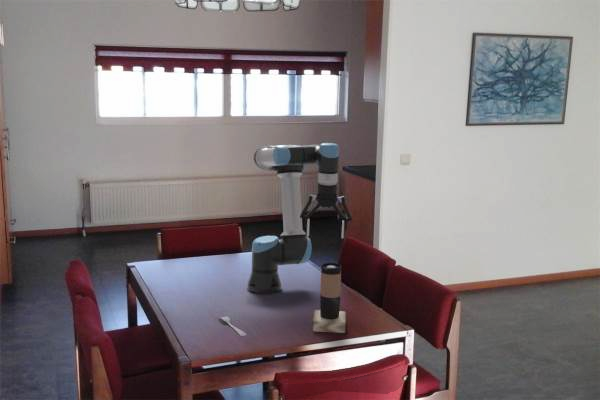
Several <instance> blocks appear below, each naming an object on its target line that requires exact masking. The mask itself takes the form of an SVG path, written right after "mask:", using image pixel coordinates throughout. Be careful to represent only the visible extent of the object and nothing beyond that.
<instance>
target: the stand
mask: <svg viewBox="0 0 600 400" xmlns="http://www.w3.org/2000/svg"><path fill="white" fill-rule="evenodd" d="M346 321H347V320H346V311H344V310H343V311H342V310H339V317H338V318H336V319H324V318H322V317H321V316H320V309H314V313H313V321H312V322H313V323H312V324H313V326H312V332H320V333H321V332H323V333H338V334H339V333H340V334H341V333H342V334H346Z"/></svg>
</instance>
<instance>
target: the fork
mask: <svg viewBox="0 0 600 400" xmlns="http://www.w3.org/2000/svg"><path fill="white" fill-rule="evenodd" d="M217 319H219V317H217ZM220 319H222V321H224V322H225V323H227V325H229V326H230V327H231V328H232V330H234V331H235V332H236V333H237V334H238V335H239V336H241V337H242V336H246V335H247V333H246V332H244V331H243V330H241V329H239V328H238V327H236V326H234V325H232V324H231V322H230V321H231V318H230V317H229V316H222V317H220Z"/></svg>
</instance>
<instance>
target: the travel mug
mask: <svg viewBox="0 0 600 400" xmlns="http://www.w3.org/2000/svg"><path fill="white" fill-rule="evenodd" d="M320 272H321V273H320V274H321V275H320V290H319V293H320V294H319V296H320V297H319V300H320V301H319V303H320V304H319V307H320V308H319V310H320V316H321V317H322V318H324V319H336V318H338V317H339V311H340V310H341V309H340V308H341V293H342V292H341V291H342V289H341V286H342V285H341V284H342V265H341V264H339V263H335V262H326V263H322V264H321V271H320Z"/></svg>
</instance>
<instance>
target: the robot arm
mask: <svg viewBox="0 0 600 400" xmlns="http://www.w3.org/2000/svg"><path fill="white" fill-rule="evenodd" d="M339 148H340V146H339V144H337V143H332V142H323V143H320V144H316V143H315V144H314V143H313V144H311V145H298V144H279V145H278V144H275V145H274V144H269V145H264V146H261V147H258V148H257V149H256V150H255V152H254V154H253V162H254V164H255V165H256V166H257V167H258V168H259V169H261V170H264V171H268V172H276V175H277V177H278V178H280V188H281V190H280V191H281V205H282V206H281V207H282V222H283V225H282V226H283V232H282V233H281V234H280V239H279V237H278V236H276V235H262V236H259V237H257V238H255V239H254V240H253V242H252V244H251V245H252V246H251V273H250V275H249V277H248V278H249V279H248V281H247V290H248V291H249V292H251V293H256V294H264V295H265V294H267V295H268V294H274V293H278V292H280V291H281V290H282V282H281V278H280V274H279V271H278V270H279V266H288V265H300V264H305V263H307V262H308V261H309V260H310V258H311V256H312V248H313V247H312V246H313V245H312V242H311V238H309V236H310V221H311V220H310V217H311V216H312V215H313V214H314V213H315V212H316V211H317V210H318V209H319V208H320V207H321V208H333V209H334V210H335V211H336V213H337V214H338V215H339V216H340V218H341V219H342V224H341V239H344V235H345V234H344V233H345V232H344V231H345V230H347V229H348V222H351V221H353V217H352V214H351V213H350V210H349V208H348V206H347V204H346V198H345V195H342V196H338V185H337V183H338V180H339V179H338V177H339V159H340V157H339V156H340V149H339ZM307 165H310V166H311V165H318V173H317V182H318V184H317V191H316V192H317V194H316V195H313V194H311V193H310V195H308V196H309V197H308V200H307V203H306V204H305V206H304V207H303V210H302V202H301V201H302V200H301V198H302V197H301V195H302V194H301V181H300V179H301V178H300V177H301V176H302V175H303V171H305V170H306V168H307ZM315 200H316V201H317V203H316V204H315V205H314V206H313V207H312V209H310V210H309V207H310V205H311V204H312V202H314V201H315ZM338 201H339V203H341V205H342V207H343V209H344V212H345V214H346V215H345V214H344V212H343V211H342V210H341V209H340V207H338V205H337V202H338ZM308 210H309V212H308V213H307V211H308ZM306 213H307V214H306ZM305 214H306V215H305ZM346 216H347V217H346ZM303 221H304V222H303ZM303 224H304V225H303ZM303 226H304V227H303ZM303 228H305V229H306V232H305V231H304V229H303Z"/></svg>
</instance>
